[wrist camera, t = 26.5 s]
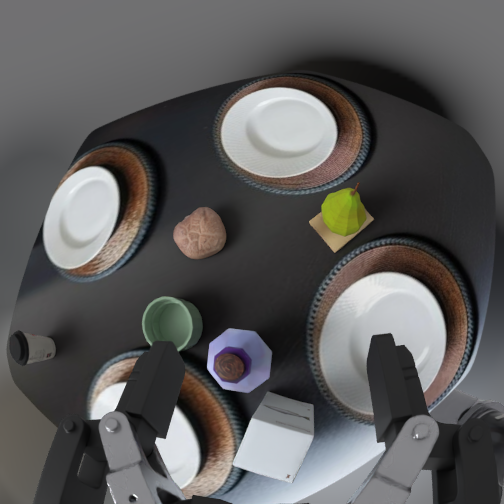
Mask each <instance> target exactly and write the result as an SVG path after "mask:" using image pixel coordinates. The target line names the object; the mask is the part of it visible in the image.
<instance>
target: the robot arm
mask: <svg viewBox="0 0 504 504" xmlns="http://www.w3.org/2000/svg"><path fill="white" fill-rule="evenodd" d="M367 374H368V380H369V386H370V392H371V399H372V406H373V413H374V420H375V428H376V437H377V443H379V442H385V447H386V450H385V452H384V453H383V455H382V456H381V458H380V459H379V461H378V463H377V464H376V465H375V467H374V468H373V470H372V471H371V472H370V474H369V475H368V477H367V478H366V479H365V481H364V482H363V484H362V485H361V486H360V487H359V489H358V490H357V491H356V492H355V493H354V495H353V496H352V497H351V498H350V499H349V500H348V502H347V503H346V504H404V503H405V502H406V500H407V499H408V497H409V495H410V493H411V487H412V485H413V483H414V481H415V480H416V478H417V476H418V475H419V473H420V471H421V470H432V486H433V504H500V502H501V497H502V487H503V488H504V414H503V413H501V412H500V411H498V410H495V409H489V410H486V411H484V412H482V413H481V414H479V415H478V416H477V417H476V418H472V419H469V420H468V421H466V422H465V423H464V424H463V425H458V424H443V423H440V422H438V421H436V420H434V419H433V418H432V417H431V415H430V414H429V412H428V410H427V406H426V402H425V398H424V394H423V390H422V387H421V383H420V379H419V377H418V372H417V369H416V368H415V362H414V359H413V356H412V354H411V353H410V351H409V350H408V349H407V348H406V347H405V345H400V346H396V345H395V342H394V338H393V336H392V334H391V333H388V334H380V335H373V336H372V338H371V343H370V348H369V352H368V357H367ZM184 375H185V365H184V362H183V360H182V358H181V356H180V354H179V352H178V350H177V348H176V346H175V344H174V343H173V342H172V341H154V342H153V344H152V346H151V348H150V351H149V352H144V353H143V354H142V355H141V356H140V357H139V359H138V360H137V361H136V363H135V366H134V368H133V372H131V375H130V377H129V380H128V382H127V384H126V386H125V389H124V391H123V393H122V396H121V398H120V400H119V403H118V405H117V407H116V409H115V411H113V412H109V413H107V414H106V415H104V416H103V418H102V419H99V420H83V419H82V418H81V417H80V416H78V415H77V414H69V415H67V416H65V417H64V418H63V419H62V421H61V422H60V425H59V427H58V430H57V432H56V435H55V437H54V440H53V443H52V446H51V448H50V451H49V454H48V457H47V460H46V463H45V465H44V469H43V471H42V474H41V478H40V481H39V484H38V487H37V491H36V494H35V498H34V501H33V504H103V503H104V499H105V495H106V491H107V486H109V489H110V492H111V494H112V497H113V500H114V503H115V504H232V503H229V502H226V501H223V500H221V499H215V498H208V497H202V496H196V495H193V496H192V499H186V498H185V496H184V494H183V493H182V491H181V489H180V488H179V487H178V485H177V484H176V483H175V482H174V481H173V479H172V478H171V476H170V474H169V472H168V470H167V468H166V466H165V464H164V462H163V459H162V457H161V455H160V453H159V451H158V448H157V446H156V444H155V440H156V437H159V438H164V439H166V435H167V432H168V429H169V425H170V422H171V418H172V415H173V412H174V408H175V405H176V402H177V398H178V395H179V392H180V389H181V385H182V382H183V379H184ZM83 453H84V454H85V456H84V459H83V462H82V466H81V469H80V472H79V475H78V476H77V473H78V469H79V466H80V463H81V460H82V457H83ZM304 504H309V503H304Z"/></svg>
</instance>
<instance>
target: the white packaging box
mask: <svg viewBox="0 0 504 504" xmlns="http://www.w3.org/2000/svg"><path fill="white" fill-rule="evenodd" d="M313 438H314V409H313V404H308V403H304V402H300V401H296V400H293V399H289V398H286V397H283V396H280V395H277V394H274V393H271V392H269V391H268V392H267V393H266V395H265V397H264V398H263V400H262V402H261V404H260V405H259V407H258V409H257V410H256V412H255V413H254V415H253V417H252V419H251V421H250V424H249V426H248V428H247V431H246V433H245V436H244V438H243V440H242V443H241V445H240V447H239V450H238V452H237V454H236V457H235V459H234V461H233V465H234V466H236V467H239V468H242V469H245V470H248V471H251V472H254V473H257V474H260V475H263V476H267V477H270V478H274V479H278V480H281V481H285V482H289V483H293V481H294V479H295V477H296V475H297V473H298V471H299V469H300V466H301V464H302V462H303V460H304V458H305V456H306V453H307V451H308V449H309V447H310V444H311V442H312V440H313Z"/></svg>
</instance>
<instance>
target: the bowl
mask: <svg viewBox="0 0 504 504" xmlns="http://www.w3.org/2000/svg"><path fill="white" fill-rule="evenodd" d="M142 325H143V333H144V335H145V337H146V340H147V341H148V342H149V344H150V345H151V346H152V344H153V342H154V341H172V342H173V343H174V344H175V346H176V348H177V350H178V352H179V351H184V350H188V349H190V348H191V347H193V346H194V345H195V344H196V343H197V342H198V340H199V339H200V337H201V333H202V329H203V325H202V317H201V315H200V313H199V311H198V309H197V308H196V307H195V306H194V305H193V304H192V303H190V302H188V301H186V300H184V299H180V298H174V297H161V298H158V299H155V300H154V301H153V302H152V303H150V304H149V305H148V307H147V309H146V310H145V312H144V316H143V320H142Z"/></svg>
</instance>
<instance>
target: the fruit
mask: <svg viewBox="0 0 504 504" xmlns="http://www.w3.org/2000/svg"><path fill="white" fill-rule="evenodd" d="M359 184H360V183H359V182H358V184H357V186H356V188H355V189H352V188H346V189H342V190H340V191H337V192H335V193H331V194H329V195H328V196H327V198H326V199H325V201H324V202H323V204H322V207H321V209H322V216H323V221H324V223H325V224H326V225H327V227H328V228H329V229H330V231H331V232H332V233H335V234H338V235H341V236H344V237H345V236H348V235H351V234H354V233H356V232H358V231H359V229H360V228H361V226H362V225H363V223H364V222H365V221H366V220H367V217H366V213H365V209H364V205H363V204H362V203H361V202H360V196H359V194H358V192H357V191H356V190H357V188H358V186H359Z"/></svg>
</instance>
